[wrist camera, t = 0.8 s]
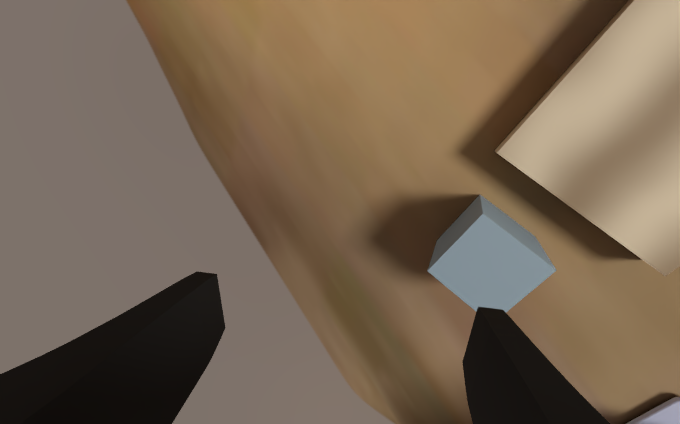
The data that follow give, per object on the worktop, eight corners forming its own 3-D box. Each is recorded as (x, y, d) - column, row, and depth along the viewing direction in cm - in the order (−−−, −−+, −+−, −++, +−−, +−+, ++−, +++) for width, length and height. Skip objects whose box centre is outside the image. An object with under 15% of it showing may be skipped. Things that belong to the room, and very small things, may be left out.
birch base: (852, 102, 16) (917, 97, 13) (643, 260, 20) (665, 276, 18) (645, -19, 17) (672, -42, 15) (494, 150, 22) (496, 153, 19)
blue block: (535, 236, 22) (556, 270, 16) (486, 280, 24) (491, 324, 18) (479, 194, 23) (482, 213, 17) (436, 240, 24) (427, 271, 19)
